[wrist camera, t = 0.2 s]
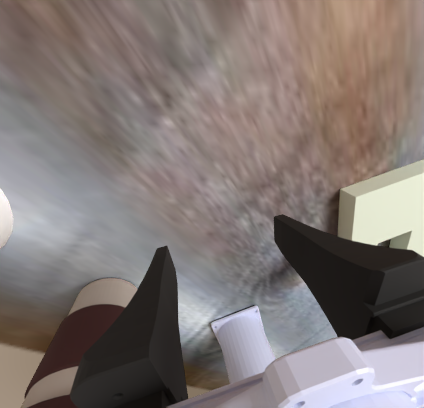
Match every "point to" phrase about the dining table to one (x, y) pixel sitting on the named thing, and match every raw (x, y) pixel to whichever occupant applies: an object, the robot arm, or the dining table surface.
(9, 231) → the honey pot
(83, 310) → the coffee cup
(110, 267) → the dining table surface
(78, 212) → the dining table surface
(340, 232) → the board
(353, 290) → the robot arm
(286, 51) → the dining table surface
